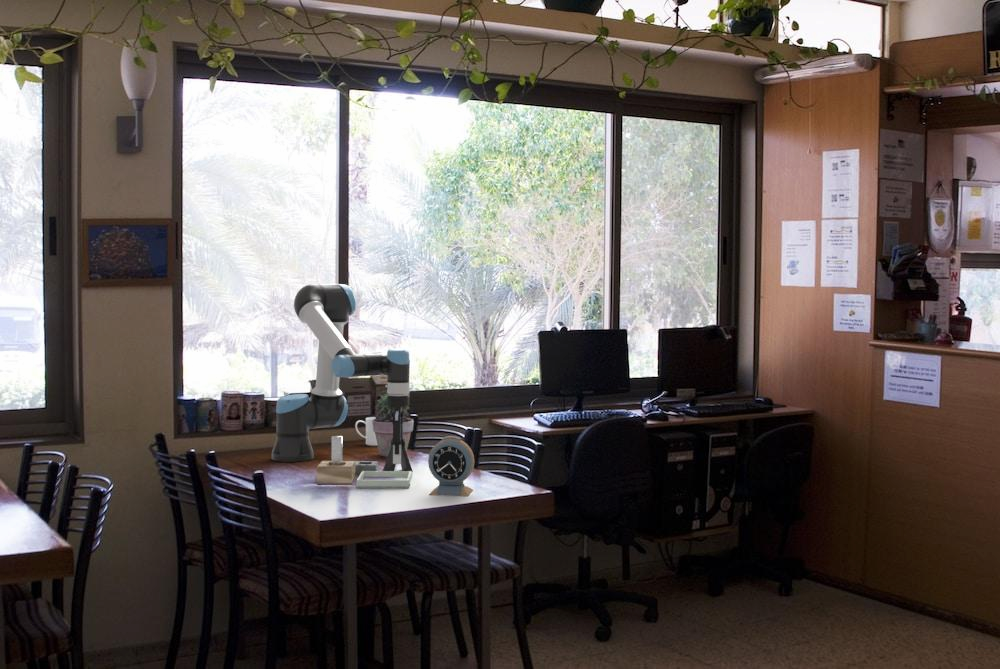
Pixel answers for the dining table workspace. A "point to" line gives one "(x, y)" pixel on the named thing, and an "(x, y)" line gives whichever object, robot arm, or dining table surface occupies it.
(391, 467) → the dark grey a-frame stand
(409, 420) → the potted plant
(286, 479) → the dining table surface
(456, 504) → the dining table surface
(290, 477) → the dining table surface
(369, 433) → the white pitcher
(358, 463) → the gauge stand
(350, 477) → the bore block
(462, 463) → the alarm clock
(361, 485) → the tray
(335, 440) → the white peg
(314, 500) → the dining table surface
